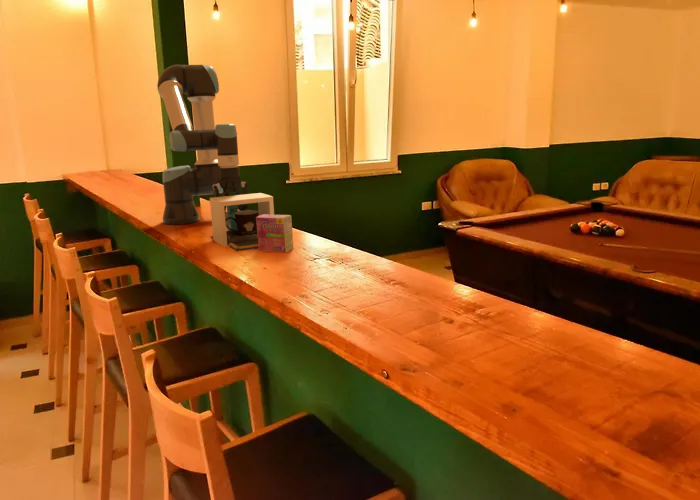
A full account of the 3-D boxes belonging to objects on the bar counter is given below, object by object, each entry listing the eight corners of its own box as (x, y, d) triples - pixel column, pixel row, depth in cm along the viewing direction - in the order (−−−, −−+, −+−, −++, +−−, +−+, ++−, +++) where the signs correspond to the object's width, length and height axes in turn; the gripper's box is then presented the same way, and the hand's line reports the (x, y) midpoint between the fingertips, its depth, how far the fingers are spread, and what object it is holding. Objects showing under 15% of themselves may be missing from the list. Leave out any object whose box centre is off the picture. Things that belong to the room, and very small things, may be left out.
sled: (213, 235, 211) (210, 200, 208) (251, 229, 218) (249, 196, 215) (229, 245, 194) (226, 208, 191) (270, 239, 201) (267, 203, 198)
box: (258, 251, 186) (255, 216, 184) (266, 247, 192) (264, 213, 189) (285, 253, 183) (283, 218, 180) (293, 249, 188) (291, 214, 185)
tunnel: (213, 240, 203) (209, 197, 199) (263, 233, 212) (261, 192, 208) (223, 246, 193) (219, 202, 189) (275, 239, 202) (273, 196, 198)
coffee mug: (263, 236, 206) (261, 210, 204) (257, 242, 198) (255, 214, 195) (232, 237, 207) (230, 210, 205) (225, 242, 199) (222, 214, 197)
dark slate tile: (229, 246, 193) (229, 243, 192) (272, 240, 200) (272, 237, 200) (236, 251, 186) (236, 247, 185) (281, 244, 193) (281, 241, 193)
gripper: (208, 169, 199) (213, 233, 205) (254, 165, 208) (259, 227, 213) (202, 167, 206) (208, 229, 211) (248, 164, 214) (252, 223, 220)
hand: (233, 228), depth 212 cm, fingers open, 4 cm apart
